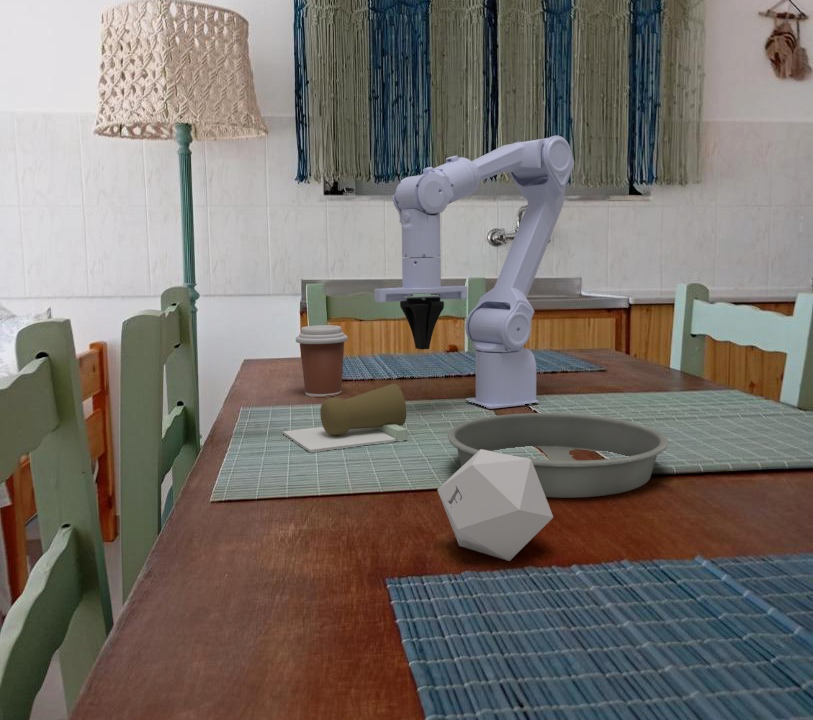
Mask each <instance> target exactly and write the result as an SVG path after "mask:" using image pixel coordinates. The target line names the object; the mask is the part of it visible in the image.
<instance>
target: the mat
mask: <svg viewBox="0 0 813 720" xmlns="http://www.w3.org/2000/svg"><path fill="white" fill-rule="evenodd" d="M283 434H284V435H283ZM282 435H283V436H285V437H286V436H287V437H286V438H288V439H289V438H290V439H291V440H290V439H289V440H290V441H292V440H293V441H294V442H293V441H292V442H293V443H295V444H296V443H297V444H296V445H298V446H299V445H300V446H299V447H301V448H302V447H303V448H302V449H303V450H305V451H306V450H307V452H308V453H310V454H313V453H320V451H321V452H327V450H329V451H335V450H334V449H337V450H341V449H340V448H345V449H348V448H347V447H353V448H355V447H354V446H360V445H368V444H376V443H381V442H390V441H396V439H395V438H393V437H391V436H389V435H387V434H385V433H383V432H381V431H379V430H377V429H375V428H359V429H349V430H348V431H347V432H346V433H344V434H342V435H338V436H332V435H330V434H328V433H327V432H326V431H325V430H324V428H323V426H317V427H309V428H302V429H301V428H299V429H292V430H283V431H282ZM396 442H397V441H396Z"/></svg>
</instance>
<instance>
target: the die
mask: <svg viewBox="0 0 813 720" xmlns="http://www.w3.org/2000/svg"><path fill="white" fill-rule="evenodd" d="M437 492H438V495H439V497H440V500H441V503H442V505H443V508H444V510H445V512H446V516H447V518H448V520H449V521H448V522H449V523H450V526H451V528H452V531H453V532H454V533H453V534H454V535H455V539H456V541H457V544H458V546H459V547H462V548H464V549H467V550H471V551H474V552H478V553H481V554H484V555H488V556H491V557H494V558H498V559H501V560H504V561H507V562H510V561H512V559H513V558H514V557H515V556H516V555H517V554H518V553H519V552H520V551H521V550H522V549H523V548H524V547H525V546H526V545H528V543H529V542H530V541H531V540H532V539H533V538H534V537H535V536H536V535H537V534H538V533H539V532H540V531H541V530H543V528H544V527H545V526H546V525H547V524H549V522H551V520H552V519H553V518H554V514H553V513H552V510H551V508H550V504H549V502H548V499H547V497H545V494H544V491H543V489H542V486H541V484H540V481H539V478H538V476H537V473H536V471H535V468H534V465H533V463H532V460H531V459H529V458H524V457H519V456H513V455H508V454H503V453H498V452H493V451H488V450H483V449H480V450H479V451H478V452H477V453H476V454H475V455H474V456H473V457H472V458H471V459H470V460H468V461H467V462H466V463H465V464H464V465H463V466H462V467H461V466H460V467H459V469H458V470H457V471H455V472H454V473H452V475H451V476H450V477H449V478H448V479H447V480H446V481H445V482H443V484H441V485H440V486H439V487H438V488H437Z"/></svg>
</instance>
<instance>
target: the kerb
mask: <svg viewBox="0 0 813 720" xmlns="http://www.w3.org/2000/svg"><path fill="white" fill-rule="evenodd" d="M375 429H377V430H379V431H381V432H383V433H385V434H387V435H389V436H391V437H393V438H395V439H396V440H397V441H399V440H407V439H408V438H409V437H408V428H405V427H403V426H398V425H396V424H385V425H383V427H375ZM408 440H409V439H408ZM397 441H396V442H397Z"/></svg>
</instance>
